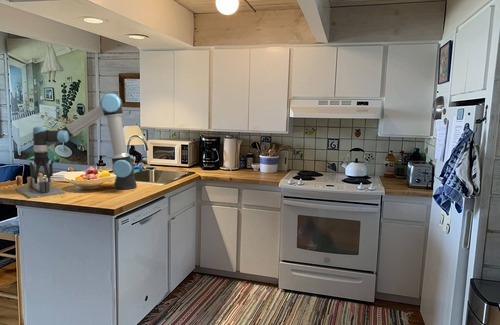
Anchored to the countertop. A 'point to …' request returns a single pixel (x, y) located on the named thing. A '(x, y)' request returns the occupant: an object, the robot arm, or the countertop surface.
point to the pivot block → (30, 182)
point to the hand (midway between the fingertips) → (42, 187)
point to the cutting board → (35, 193)
